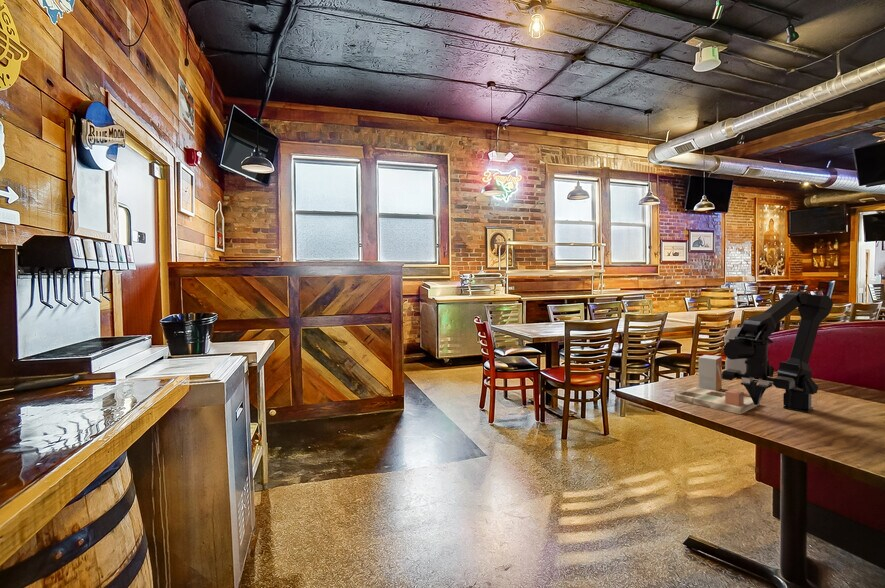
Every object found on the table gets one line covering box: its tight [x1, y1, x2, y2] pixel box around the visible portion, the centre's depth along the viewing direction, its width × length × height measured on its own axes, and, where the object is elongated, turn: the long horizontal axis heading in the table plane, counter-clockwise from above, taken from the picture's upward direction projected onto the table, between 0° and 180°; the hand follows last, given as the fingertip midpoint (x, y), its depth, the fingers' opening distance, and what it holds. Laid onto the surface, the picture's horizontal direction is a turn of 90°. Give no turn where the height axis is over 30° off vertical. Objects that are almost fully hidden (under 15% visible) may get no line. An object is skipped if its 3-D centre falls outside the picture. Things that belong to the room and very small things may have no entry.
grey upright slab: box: [723, 326, 751, 378], centre depth 187 cm, size 11×4×22 cm, turn 61°
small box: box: [698, 354, 723, 391], centre depth 170 cm, size 8×6×13 cm
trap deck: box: [674, 386, 761, 415], centre depth 154 cm, size 21×16×2 cm
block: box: [724, 389, 745, 406], centre depth 145 cm, size 4×4×4 cm
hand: (756, 404), depth 140 cm, fingers closed
